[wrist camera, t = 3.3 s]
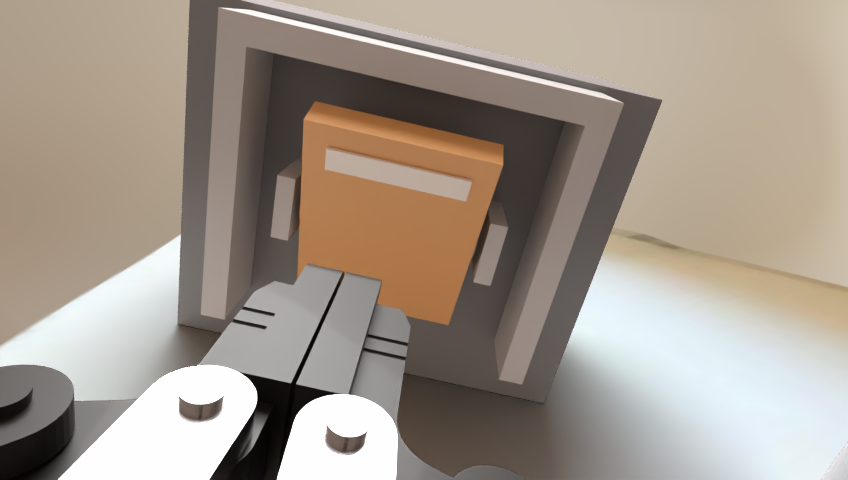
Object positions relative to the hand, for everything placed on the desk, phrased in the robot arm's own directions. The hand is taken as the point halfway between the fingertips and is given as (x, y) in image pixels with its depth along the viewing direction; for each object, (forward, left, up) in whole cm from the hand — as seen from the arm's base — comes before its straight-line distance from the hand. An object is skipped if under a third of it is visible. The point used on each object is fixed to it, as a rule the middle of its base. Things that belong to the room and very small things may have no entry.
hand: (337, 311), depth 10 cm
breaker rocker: (0, -15, -8) cm, 17 cm away
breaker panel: (0, -19, -13) cm, 24 cm away
